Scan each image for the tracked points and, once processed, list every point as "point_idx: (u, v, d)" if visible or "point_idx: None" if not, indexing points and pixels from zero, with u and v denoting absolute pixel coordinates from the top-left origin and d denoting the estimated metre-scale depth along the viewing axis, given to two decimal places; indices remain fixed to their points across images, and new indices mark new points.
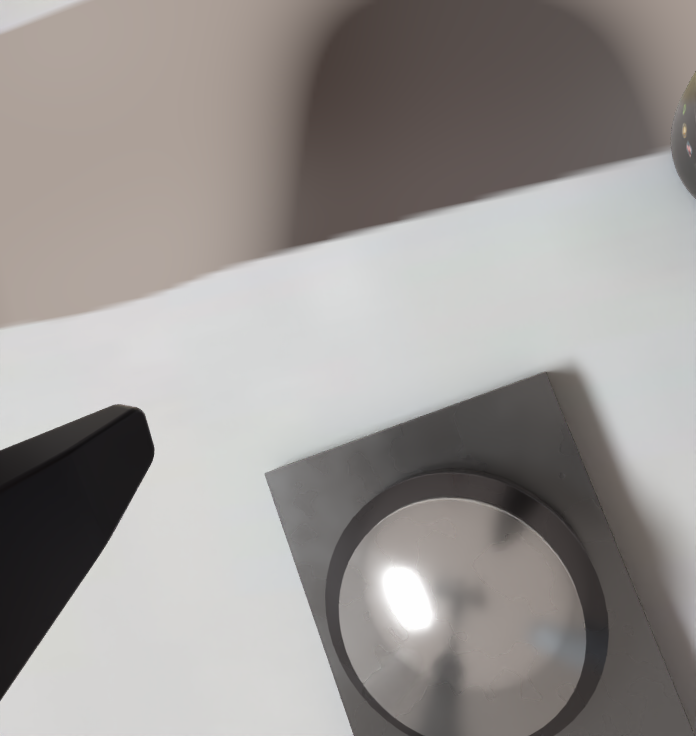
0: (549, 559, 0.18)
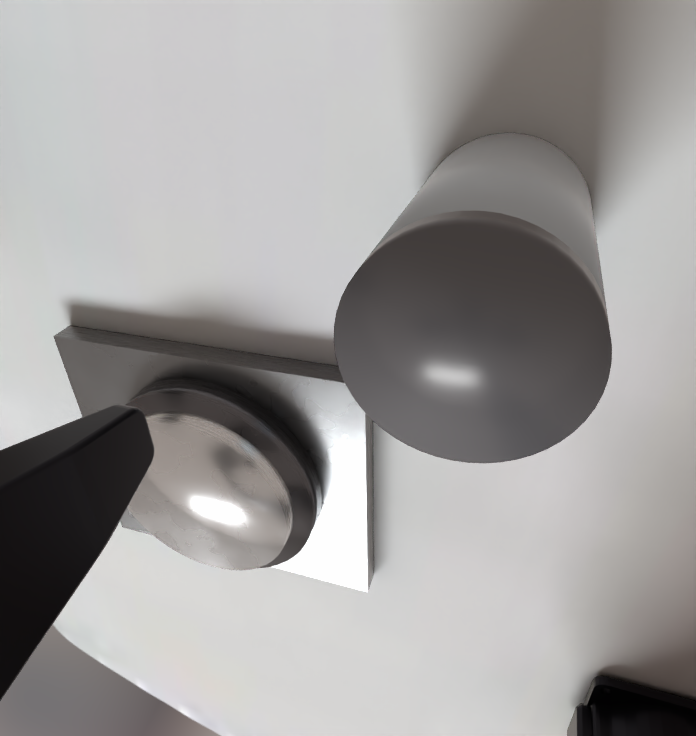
0: (152, 428, 0.22)
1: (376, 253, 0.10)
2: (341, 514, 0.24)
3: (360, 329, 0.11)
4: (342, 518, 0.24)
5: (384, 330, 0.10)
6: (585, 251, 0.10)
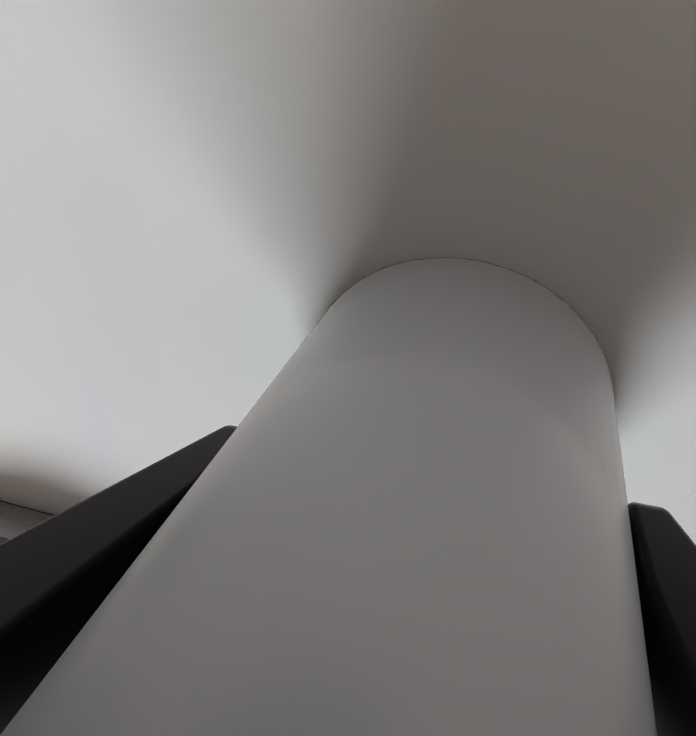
0: None
1: None
2: None
3: None
4: None
5: None
6: None
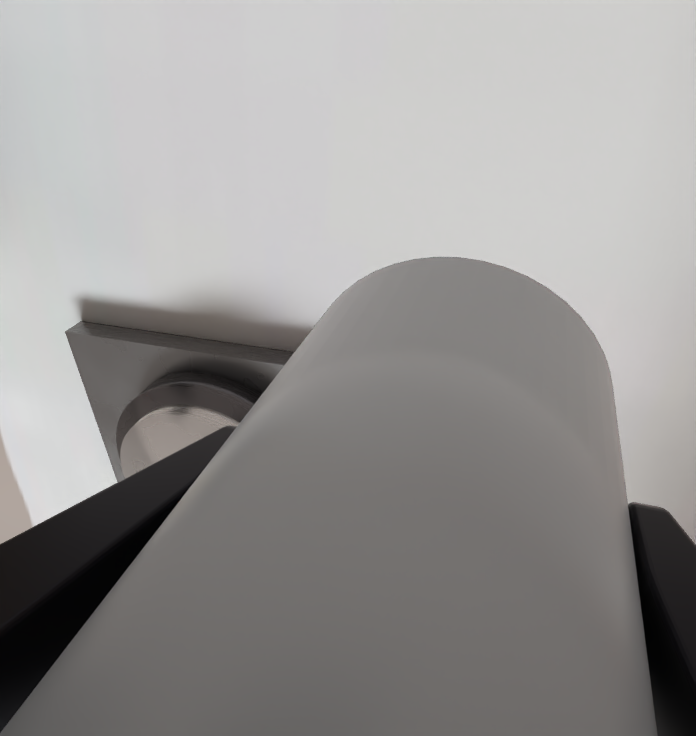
0: (162, 420, 0.23)
1: None
2: None
3: None
4: None
5: None
6: None
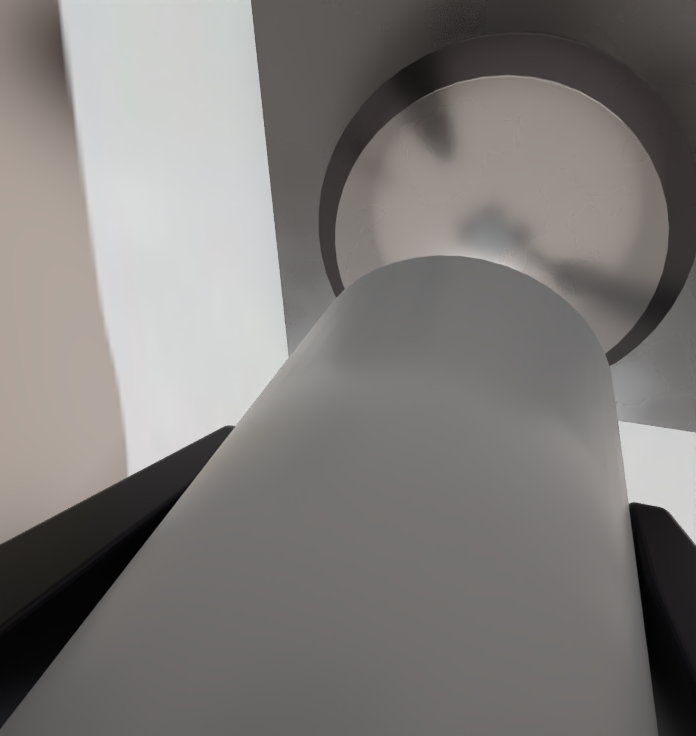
0: (449, 98, 0.13)
1: None
2: None
3: None
4: None
5: None
6: None
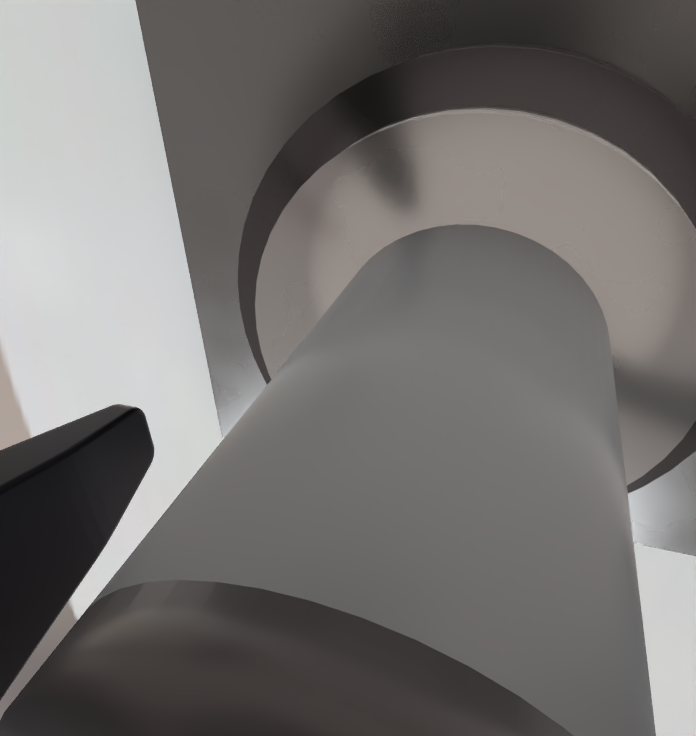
0: (400, 141, 0.09)
1: (32, 696, 0.04)
2: None
3: None
4: None
5: None
6: (609, 662, 0.04)
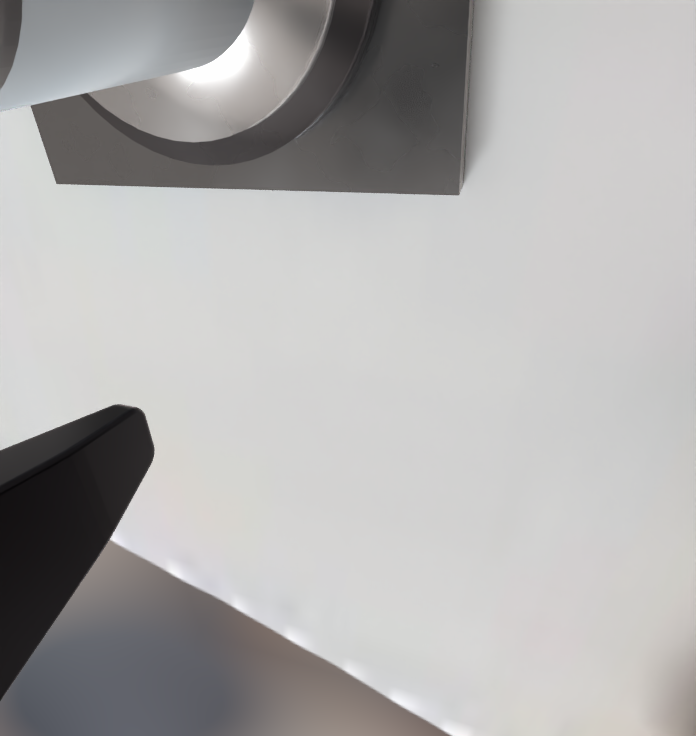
0: None
1: None
2: None
3: None
4: None
5: None
6: None
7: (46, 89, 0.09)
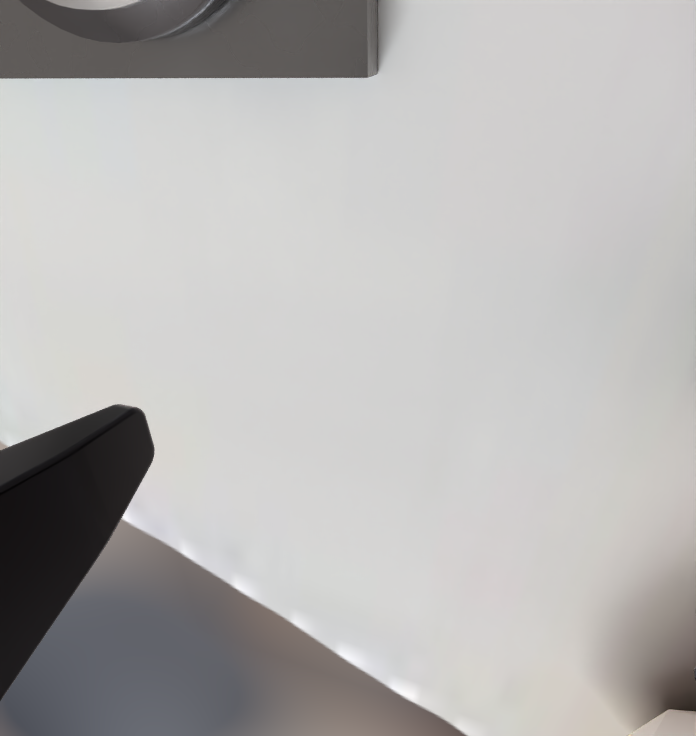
0: None
1: None
2: None
3: None
4: None
5: None
6: None
7: None
